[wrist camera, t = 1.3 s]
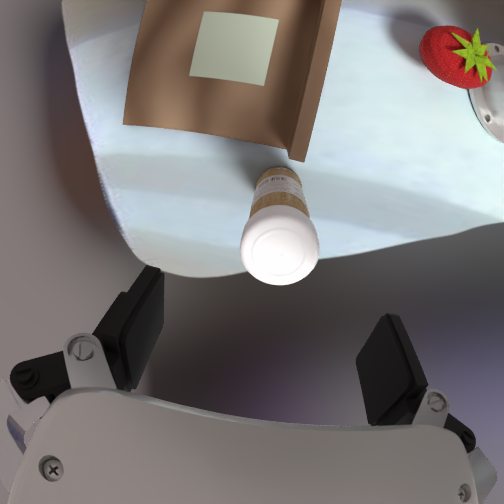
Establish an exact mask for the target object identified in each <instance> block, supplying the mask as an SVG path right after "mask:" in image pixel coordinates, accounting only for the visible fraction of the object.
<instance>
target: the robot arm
mask: <svg viewBox="0 0 504 504" xmlns="http://www.w3.org/2000/svg"><path fill="white" fill-rule="evenodd" d="M485 44H488V47H487V49H486V50H487V52H488V50H489V46H490V45H491V47H490V51H489V57H490V59H491V63H492V64H493V65H494V66H495V68H496V69H497V70H495V69H492V75H491V78H490V80H489V81H488V82H487V83H486V84H485V85H483V86H481V87H478V88H474V89H469V93H470V98H471V101H472V104H473V107H474V110H475V112H476V114H477V117H478V119H479V121H480V122H481V124H482V125H483V127H484V128H485V130H486V131H487V132H488V133H489V134H490V135H491V136H492V137H493V138H494V139H496V140H497V141H499V142H501V143H504V46H502V45H500V44H497V43H485ZM163 323H164V273H162V272H161V270H160V268H157V267H153V266H148V265H146V267H145V268H144V269H143V271H142V272H141V273H140V275H139V276H138V278H137V279H136V281H135V282H134V283H133V285H132V286H131V288H130V289H129V290H128V292H121V293H120V294H119V295H118V297H117V298H116V300H115V301H114V302H113V304H112V305H111V307H110V308H109V310H108V311H107V313H106V314H105V315H104V317H103V318H102V320H101V321H100V323H99V324H98V326H97V327H96V329H95V331H94V332H93V333H92V334H89V333H78V334H75V335H73V336H71V337H69V338H68V339H67V340H66V342H65V344H64V346H63V351H60V352H57V353H53V354H49V355H46V356H42V357H39V358H35V359H31V360H27V361H23V362H21V363H18V364H17V365H16V366H15V367H14V368H13V369H12V371H11V374H10V378H9V379H7V380H5V379H4V378H3V379H1V380H0V481H1V482H2V484H3V486H4V487H5V489H6V490H7V492H8V493H9V495H10V496H9V499H8V503H7V504H482V503H483V502H484V500H485V499H486V497H487V496H488V494H489V493H490V491H491V490H492V488H493V487H494V485H495V483H496V481H497V471H496V469H495V468H494V466H493V465H492V464H491V463H490V461H489V460H488V458H487V457H486V456H485V455H484V453H483V452H482V451H481V450H480V448H479V447H476V448H475V444H476V438H475V436H474V434H473V432H472V431H471V430H470V429H469V428H468V427H466V426H465V425H464V424H463V423H461V422H460V421H458V420H457V419H456V418H455V417H453V416H452V415H451V414H449V413H448V412H449V401H448V399H447V398H446V396H445V395H444V394H443V393H442V392H440V391H438V390H436V389H430V390H428V391H427V390H426V387H427V386H428V382H427V380H426V377H425V375H424V372H423V370H422V367H421V365H420V362H419V360H418V357H417V355H416V352H415V350H414V348H413V345H412V343H411V341H410V338H409V336H408V334H407V332H406V330H405V327H404V325H403V323H402V321H401V319H400V317H399V316H398V315H395V314H389V313H387V314H385V315H384V316H382V317H381V318H380V320H379V321H378V323H377V325H376V326H375V328H374V330H373V332H372V333H371V335H370V336H369V338H368V340H367V341H366V343H365V345H364V346H363V348H362V349H361V351H360V353H359V354H358V356H357V358H356V366H357V371H358V375H359V379H360V384H361V389H362V394H363V399H364V403H365V409H366V414H367V420H368V423H369V424H371V426H323V425H305V424H292V423H282V422H273V421H265V420H257V419H250V418H244V417H236V416H231V415H225V414H220V413H215V412H210V411H205V410H201V409H196V408H192V407H187V406H183V405H179V404H175V403H171V402H167V401H163V400H159V399H155V398H152V397H148V396H144V395H140V394H136V393H132V392H131V389H136V388H137V385H138V383H139V381H140V379H141V376H142V374H143V371H144V369H145V367H146V364H147V362H148V359H149V357H150V355H151V353H152V350H153V348H154V346H155V344H156V341H157V339H158V337H159V335H160V332H161V330H162V328H163ZM38 419H41V420H40V421H39V423H38V425H37V427H36V429H35V431H34V433H33V435H32V437H31V439H30V441H29V443H28V445H27V448H26V445H25V444H24V434H25V432H26V431H27V430H28V429H29V428H30V427H32V426H33V425H34V423H33V422H35V421H36V420H38Z"/></svg>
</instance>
